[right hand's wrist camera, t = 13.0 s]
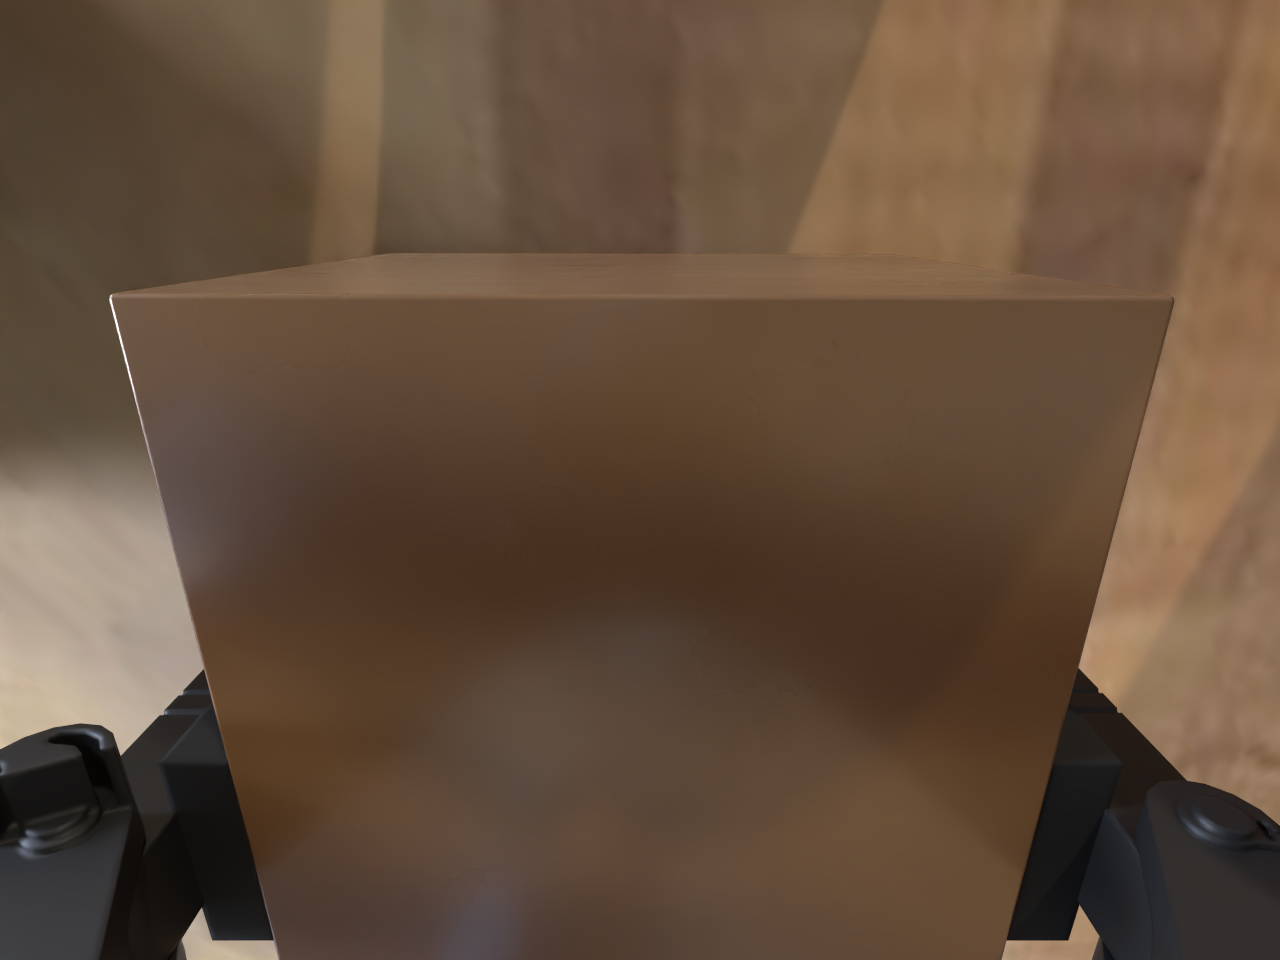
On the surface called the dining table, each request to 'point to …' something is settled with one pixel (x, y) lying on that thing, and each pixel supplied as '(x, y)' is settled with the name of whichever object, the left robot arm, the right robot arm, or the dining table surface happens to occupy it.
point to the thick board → (640, 589)
